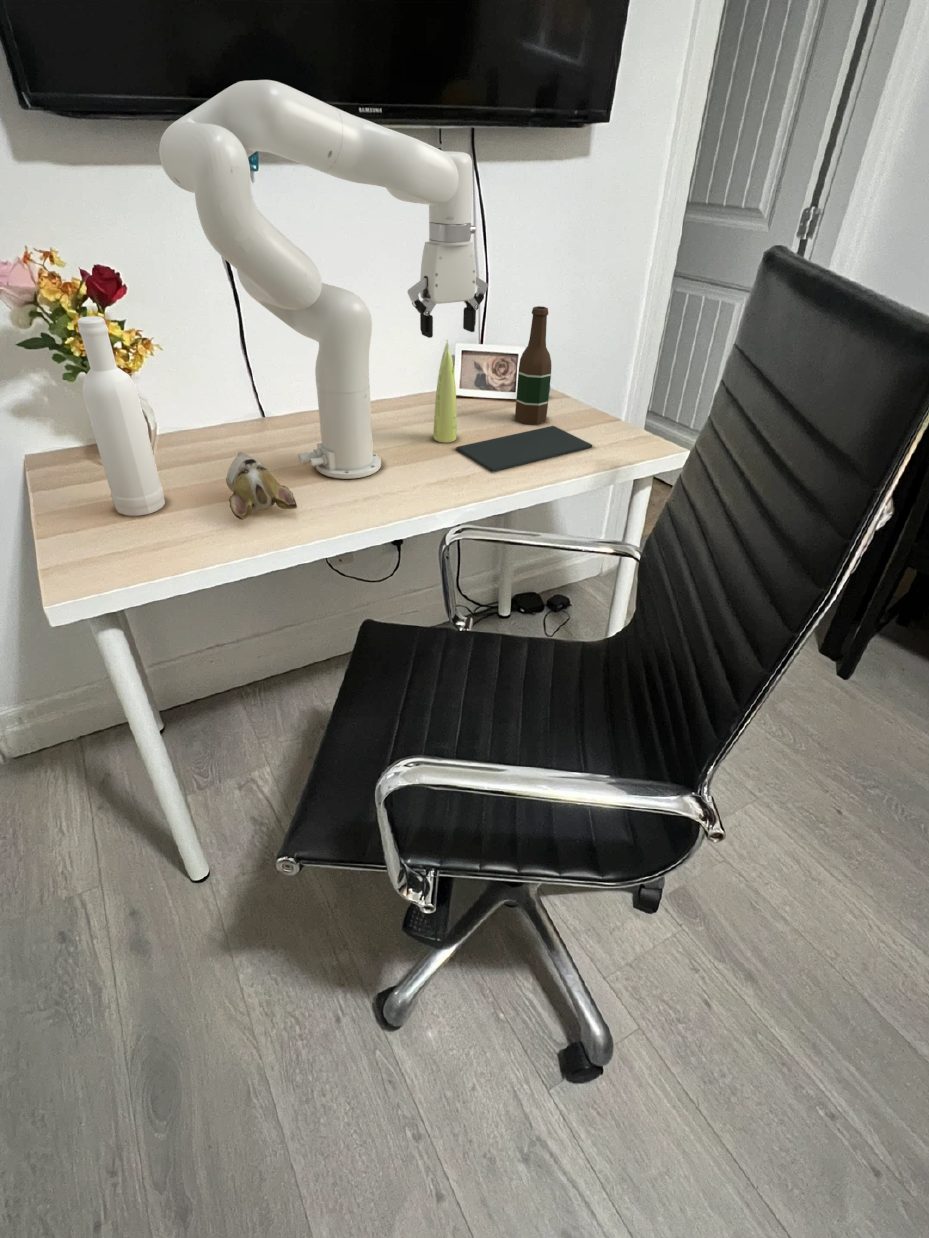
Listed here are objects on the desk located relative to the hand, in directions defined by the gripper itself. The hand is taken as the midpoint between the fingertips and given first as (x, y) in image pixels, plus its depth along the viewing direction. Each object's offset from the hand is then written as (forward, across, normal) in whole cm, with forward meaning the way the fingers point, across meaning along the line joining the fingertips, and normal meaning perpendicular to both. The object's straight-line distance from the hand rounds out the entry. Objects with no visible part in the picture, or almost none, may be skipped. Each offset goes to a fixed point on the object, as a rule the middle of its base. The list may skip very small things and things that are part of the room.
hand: (448, 333), depth 134 cm
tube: (+22, 0, 0) cm, 22 cm away
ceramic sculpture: (+21, +46, +11) cm, 51 cm away
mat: (+22, -12, +12) cm, 27 cm away
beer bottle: (+22, -24, -1) cm, 32 cm away
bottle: (+21, +62, +1) cm, 66 cm away
